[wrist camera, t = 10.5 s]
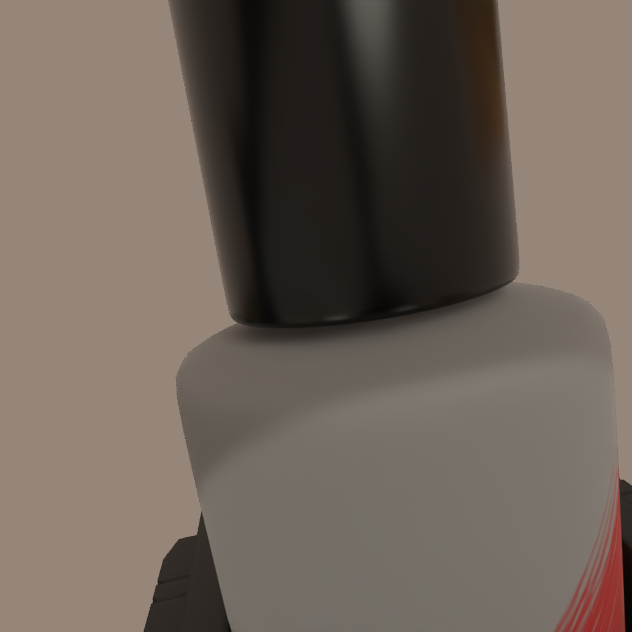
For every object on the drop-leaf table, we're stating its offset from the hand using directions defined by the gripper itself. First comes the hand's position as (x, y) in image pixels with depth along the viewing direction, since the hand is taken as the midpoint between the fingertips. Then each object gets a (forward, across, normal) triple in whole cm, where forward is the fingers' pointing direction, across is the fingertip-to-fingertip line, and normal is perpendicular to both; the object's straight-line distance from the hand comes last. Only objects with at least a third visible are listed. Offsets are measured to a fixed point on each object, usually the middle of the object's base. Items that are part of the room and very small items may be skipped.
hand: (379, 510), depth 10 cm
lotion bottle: (-2, 0, +11) cm, 11 cm away
